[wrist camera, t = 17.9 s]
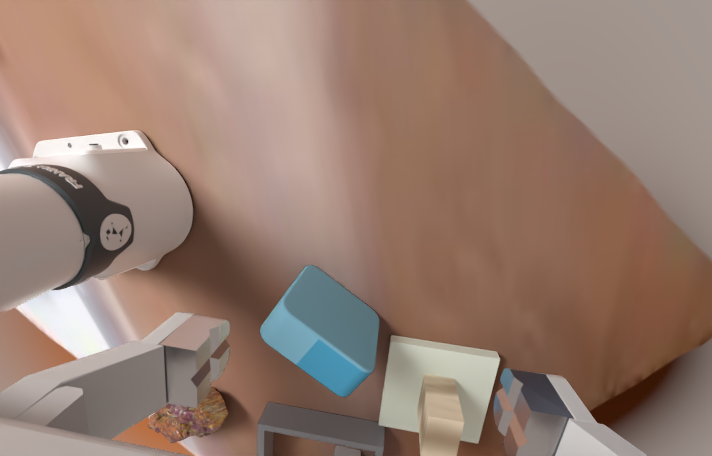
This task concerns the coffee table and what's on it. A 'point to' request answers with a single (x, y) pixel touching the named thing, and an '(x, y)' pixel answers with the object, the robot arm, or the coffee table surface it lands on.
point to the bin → (317, 428)
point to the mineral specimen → (190, 418)
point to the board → (439, 359)
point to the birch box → (439, 417)
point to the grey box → (346, 451)
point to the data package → (324, 331)
